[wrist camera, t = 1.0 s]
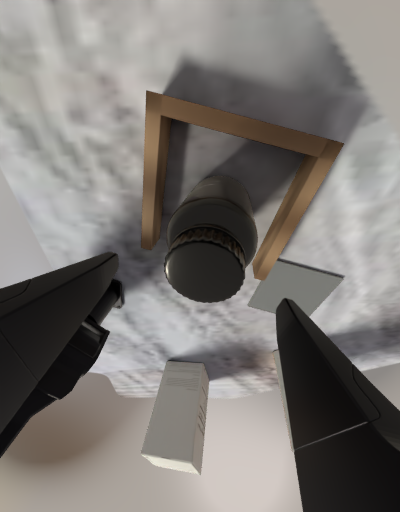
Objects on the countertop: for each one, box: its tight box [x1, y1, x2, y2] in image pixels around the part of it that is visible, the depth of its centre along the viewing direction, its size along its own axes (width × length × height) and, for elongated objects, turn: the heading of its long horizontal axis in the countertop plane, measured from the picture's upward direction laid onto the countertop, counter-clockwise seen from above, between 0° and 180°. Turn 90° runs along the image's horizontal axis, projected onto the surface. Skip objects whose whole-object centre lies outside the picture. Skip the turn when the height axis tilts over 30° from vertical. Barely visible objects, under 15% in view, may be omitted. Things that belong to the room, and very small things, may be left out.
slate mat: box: [248, 260, 343, 317], centre depth 25 cm, size 9×9×1 cm
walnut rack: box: [141, 90, 344, 281], centre depth 18 cm, size 14×15×3 cm
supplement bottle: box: [164, 176, 258, 303], centre depth 15 cm, size 7×7×12 cm
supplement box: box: [141, 361, 209, 475], centre depth 37 cm, size 9×9×15 cm
